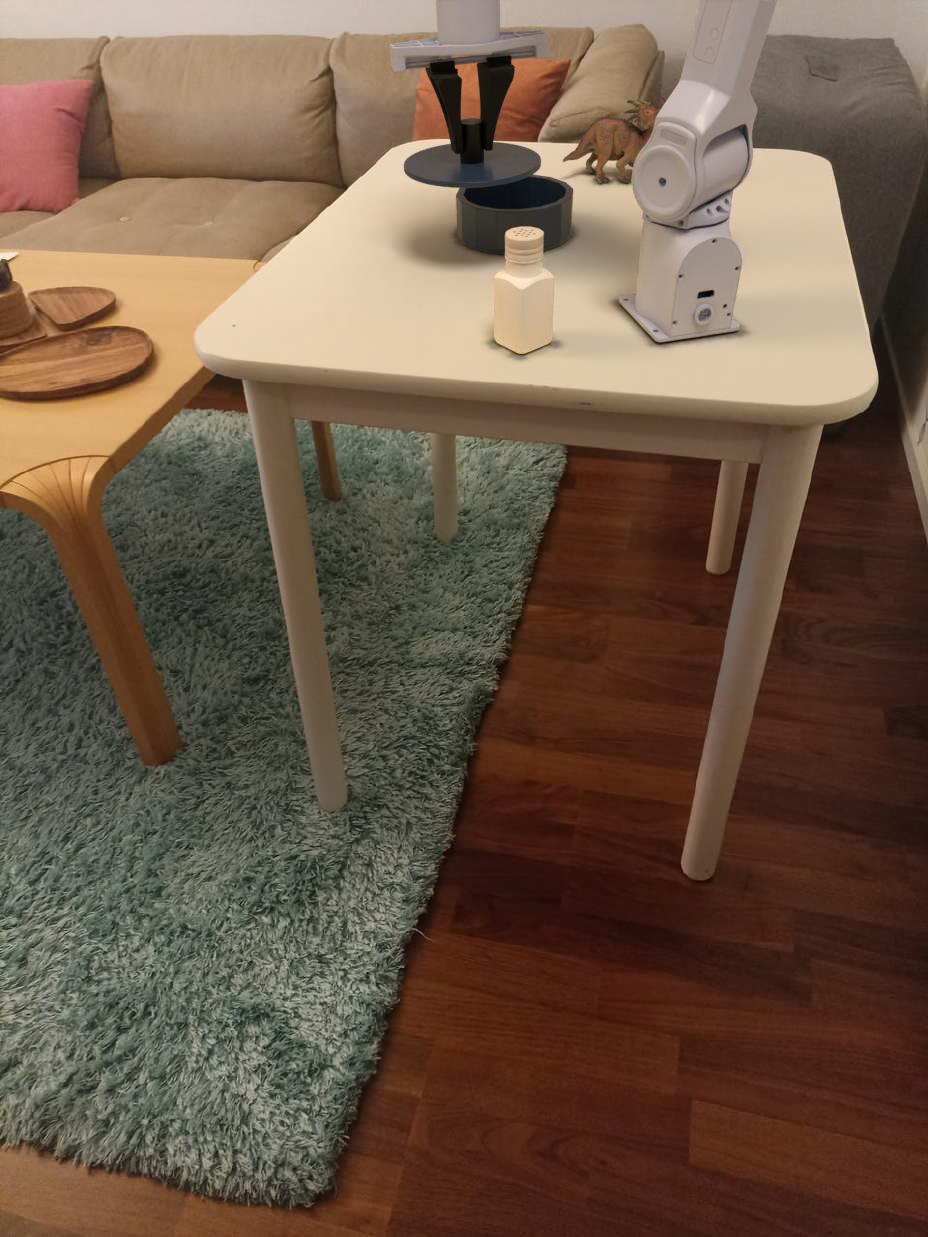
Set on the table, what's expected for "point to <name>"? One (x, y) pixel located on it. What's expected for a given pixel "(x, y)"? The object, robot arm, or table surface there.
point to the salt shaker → (523, 293)
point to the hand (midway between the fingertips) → (472, 149)
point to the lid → (472, 162)
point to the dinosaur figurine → (616, 140)
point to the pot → (514, 212)
